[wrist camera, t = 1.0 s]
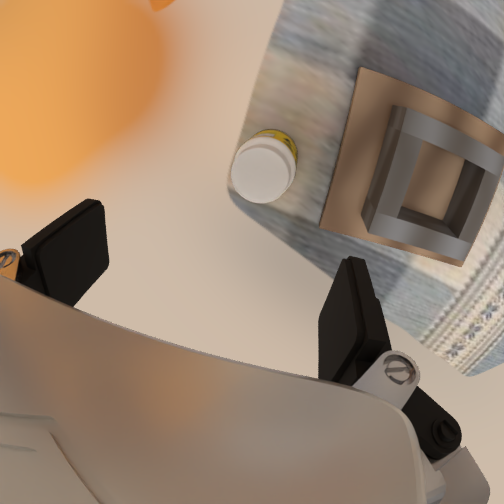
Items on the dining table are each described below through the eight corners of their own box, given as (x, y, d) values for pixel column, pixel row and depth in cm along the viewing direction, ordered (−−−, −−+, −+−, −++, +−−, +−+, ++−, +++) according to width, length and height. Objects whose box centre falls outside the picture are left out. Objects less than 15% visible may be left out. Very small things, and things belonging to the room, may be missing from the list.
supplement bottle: (301, 173, 27) (300, 205, 20) (253, 180, 28) (234, 214, 21) (292, 124, 24) (287, 136, 17) (242, 133, 26) (217, 149, 18)
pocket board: (506, 137, 19) (533, 149, 15) (458, 262, 28) (474, 288, 24) (358, 67, 20) (370, 62, 16) (319, 223, 29) (320, 248, 25)
